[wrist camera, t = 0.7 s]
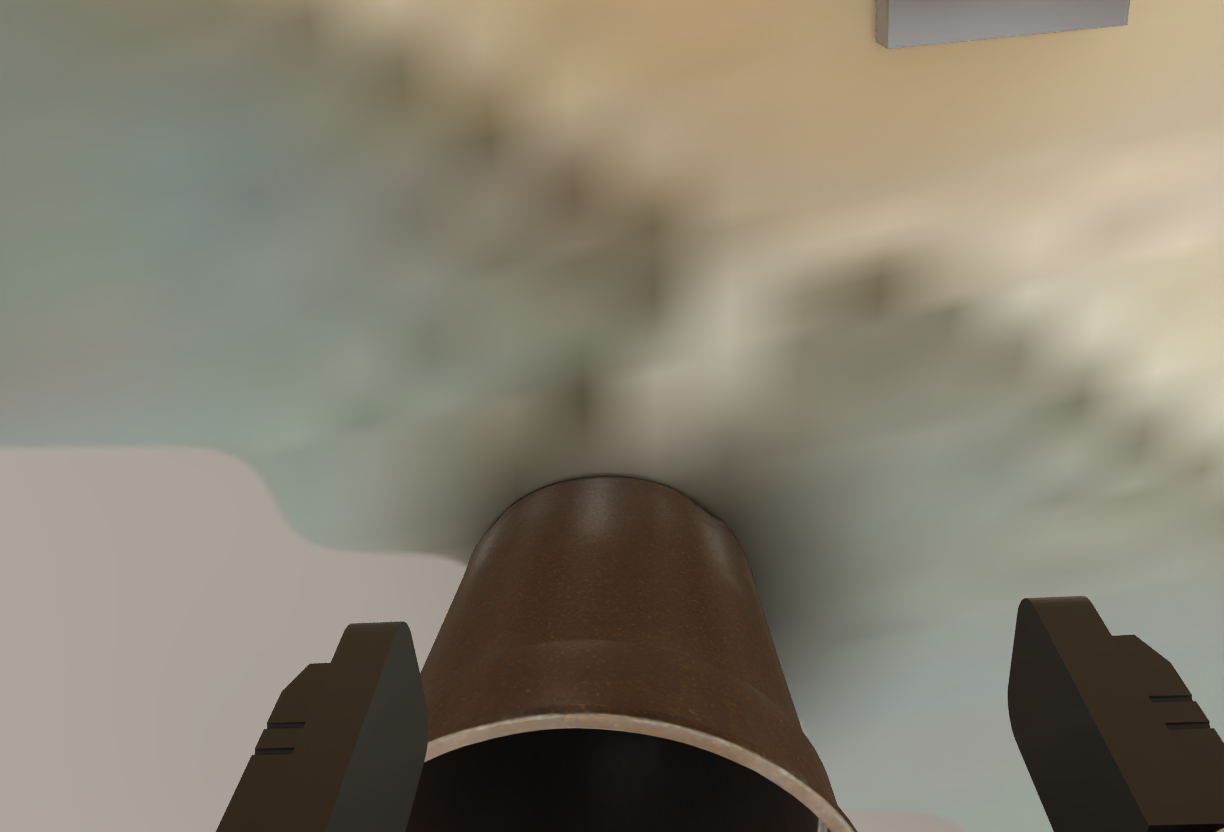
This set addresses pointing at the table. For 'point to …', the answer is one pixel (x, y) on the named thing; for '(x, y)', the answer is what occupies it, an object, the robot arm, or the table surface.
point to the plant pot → (613, 679)
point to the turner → (988, 19)
